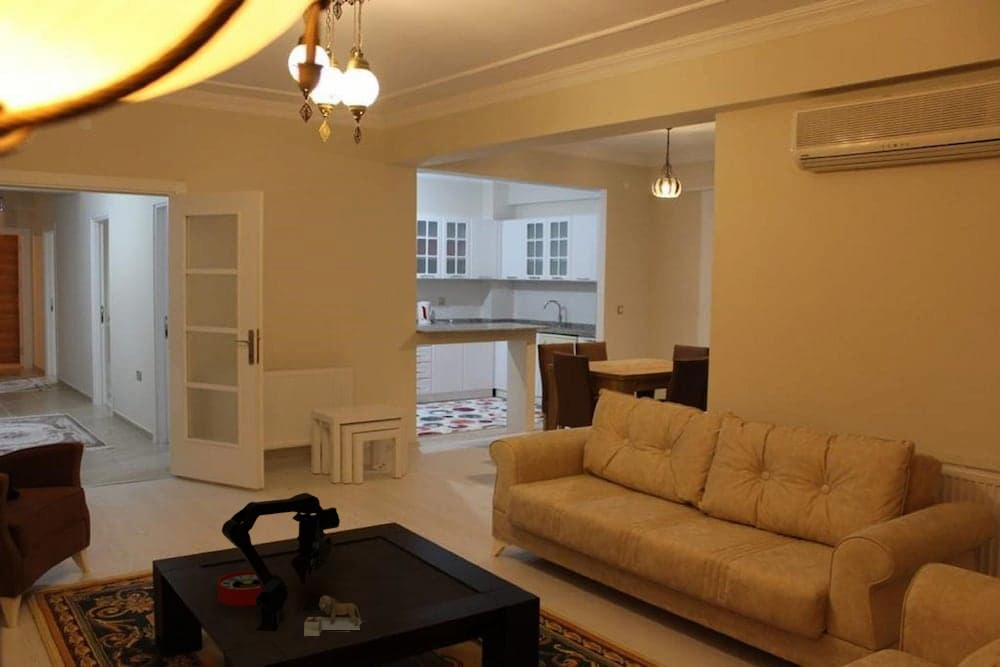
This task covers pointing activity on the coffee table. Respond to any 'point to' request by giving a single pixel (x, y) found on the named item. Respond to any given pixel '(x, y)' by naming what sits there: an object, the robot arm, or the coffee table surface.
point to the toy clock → (239, 588)
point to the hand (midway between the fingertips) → (306, 579)
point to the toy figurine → (320, 556)
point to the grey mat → (339, 624)
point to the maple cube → (313, 626)
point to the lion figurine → (338, 609)
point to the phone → (311, 603)
